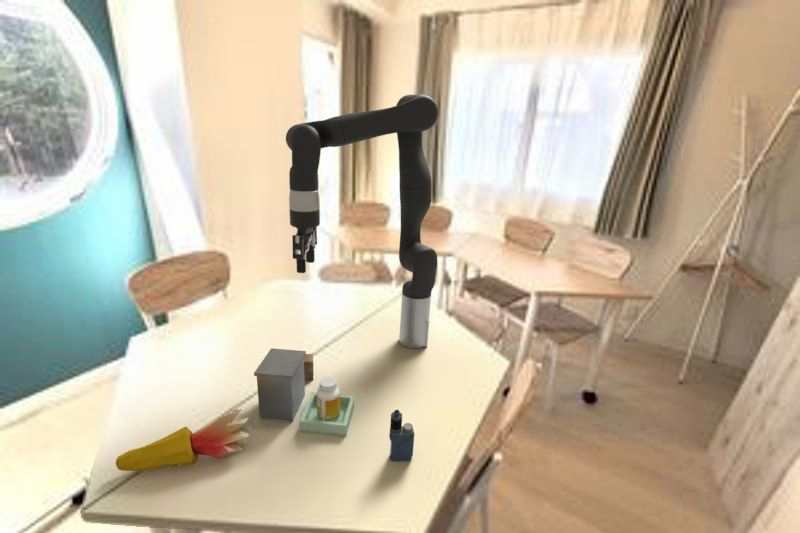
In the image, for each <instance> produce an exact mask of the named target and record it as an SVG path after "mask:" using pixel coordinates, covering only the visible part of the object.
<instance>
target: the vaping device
mask: <svg viewBox="0 0 800 533" xmlns="http://www.w3.org/2000/svg"><path fill="white" fill-rule="evenodd" d="M402 423H403V414H402V413H401V412H400V410H399V409H395V410H394V411H393V412H391V414H390V426H389V427H390V428H389V435H388V436H389V440H390V449H389V450H390V451H389V459H390V461H391V462H409V461H410V460H412V458H413V456H414V442H415V431H414V426H413V424H412V423H409V422H406V423H404V424H403V426H402Z"/></svg>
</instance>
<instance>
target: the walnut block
mask: <svg viewBox="0 0 800 533" xmlns="http://www.w3.org/2000/svg"><path fill="white" fill-rule="evenodd" d="M304 377H305V382H308V381H309V382H310V381H314V353H306V355H305V357H304Z"/></svg>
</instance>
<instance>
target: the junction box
mask: <svg viewBox="0 0 800 533" xmlns="http://www.w3.org/2000/svg"><path fill="white" fill-rule="evenodd" d="M306 354H307V352H306V350H295V349H294V350H293V349H284V348H283V349H282V348H270V350H269V351H268V353H267V354H266V355H265V356H264V358H263V360H262V361H261V362H260V363H259V365H258V366H257V368H256V369H255V370H254V372H253V376H254V377H256V383H257V399H258V412H259V419H262V420H263V419H264V420H276V421H284V422H294V420H295V419H296V416H297V414H298V411H299V409H300V407H301V406H302V405H301V404H302V403H303V400H304V398H305V395H306V384H305V383H306V381H305V377H304V357H305V355H306Z"/></svg>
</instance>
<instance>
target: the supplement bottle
mask: <svg viewBox="0 0 800 533" xmlns="http://www.w3.org/2000/svg"><path fill="white" fill-rule="evenodd" d="M316 393H317V417H318V419H319V420H320V421H328V422H334V421H336V420H337V419H338V418H339V416H340V395H341V391H340V387H339V386H338V381H337V379H336V378H335V377H332V376H326V377H322V378H321V379H320V380H319V387H318V389H317V391H316Z"/></svg>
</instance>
